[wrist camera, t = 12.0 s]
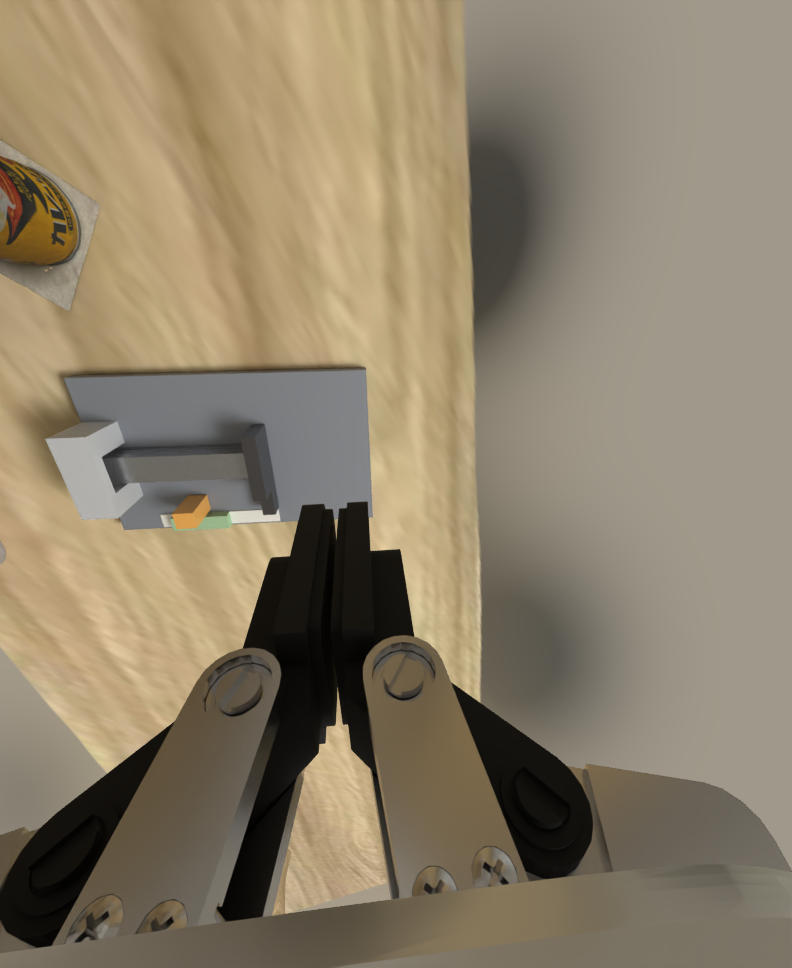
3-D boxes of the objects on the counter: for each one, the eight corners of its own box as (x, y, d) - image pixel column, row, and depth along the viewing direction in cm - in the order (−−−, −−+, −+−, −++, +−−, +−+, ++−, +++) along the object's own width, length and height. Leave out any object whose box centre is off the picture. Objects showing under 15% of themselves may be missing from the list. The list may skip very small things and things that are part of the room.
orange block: (187, 495, 37) (171, 514, 34) (207, 494, 37) (192, 513, 34) (192, 509, 37) (176, 529, 34) (210, 508, 37) (196, 528, 34)
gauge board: (73, 375, 32) (22, 389, 27) (365, 367, 34) (366, 379, 29) (130, 523, 39) (98, 555, 34) (372, 511, 41) (373, 540, 36)
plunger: (88, 430, 33) (60, 444, 30) (264, 424, 34) (254, 437, 31) (121, 513, 37) (99, 534, 34) (279, 506, 38) (271, 525, 35)
